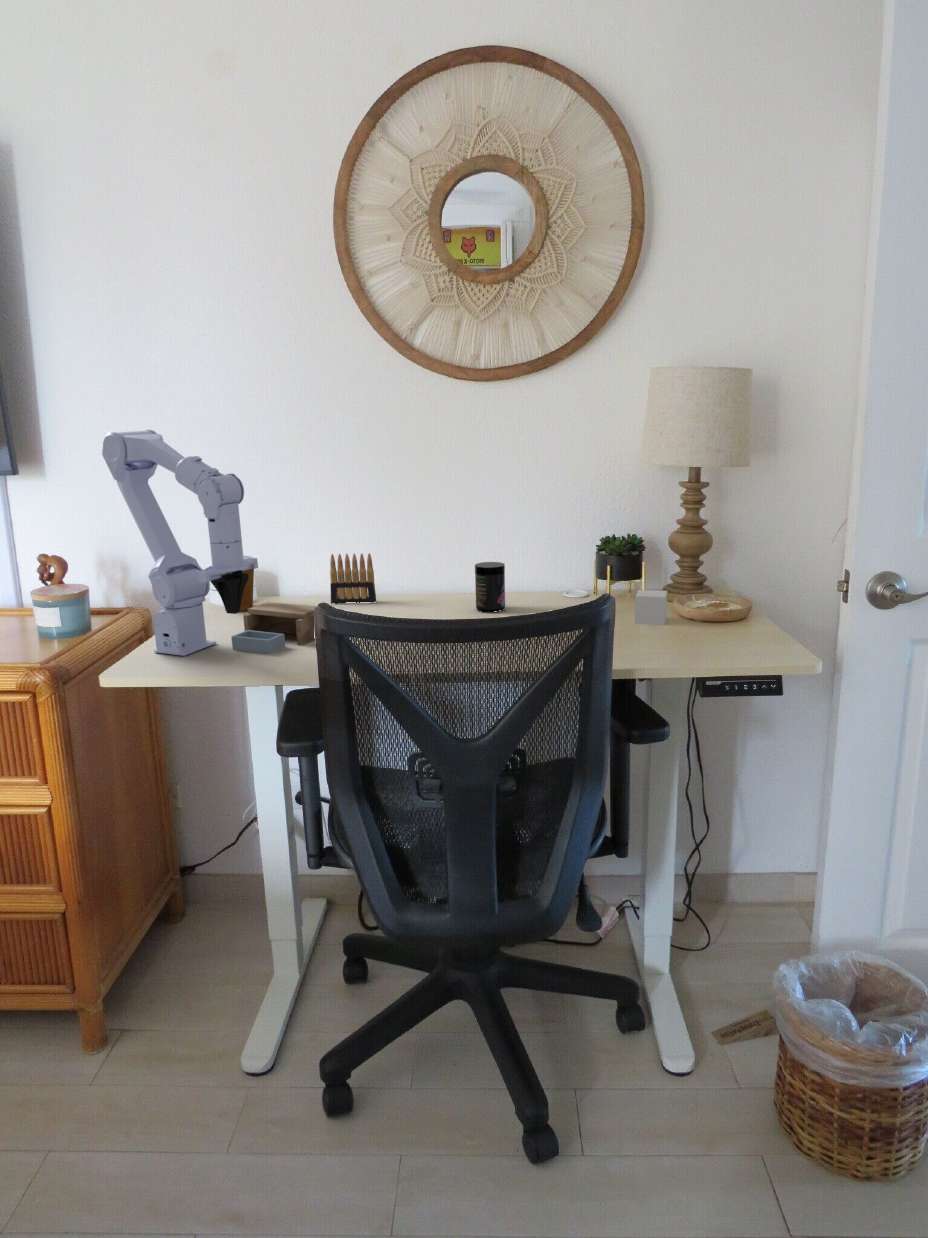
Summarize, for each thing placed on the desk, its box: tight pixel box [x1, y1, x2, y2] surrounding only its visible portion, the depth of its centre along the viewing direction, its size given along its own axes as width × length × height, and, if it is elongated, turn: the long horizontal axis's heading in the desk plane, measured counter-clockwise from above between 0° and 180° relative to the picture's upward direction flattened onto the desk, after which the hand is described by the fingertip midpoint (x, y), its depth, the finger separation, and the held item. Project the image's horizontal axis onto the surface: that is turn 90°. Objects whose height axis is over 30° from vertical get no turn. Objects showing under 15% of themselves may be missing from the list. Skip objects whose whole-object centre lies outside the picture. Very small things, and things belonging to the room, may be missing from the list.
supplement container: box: [474, 561, 506, 613], centre depth 194 cm, size 7×7×10 cm
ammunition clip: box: [329, 552, 377, 605], centre depth 204 cm, size 11×2×12 cm, turn 88°
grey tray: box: [231, 630, 286, 655], centre depth 170 cm, size 5×9×3 cm, turn 65°
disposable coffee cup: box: [224, 555, 255, 613], centre depth 202 cm, size 10×10×12 cm
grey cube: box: [634, 589, 668, 626], centre depth 181 cm, size 6×6×6 cm
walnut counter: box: [242, 601, 316, 646], centre depth 177 cm, size 8×14×6 cm, turn 65°
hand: (233, 612), depth 162 cm, fingers closed
